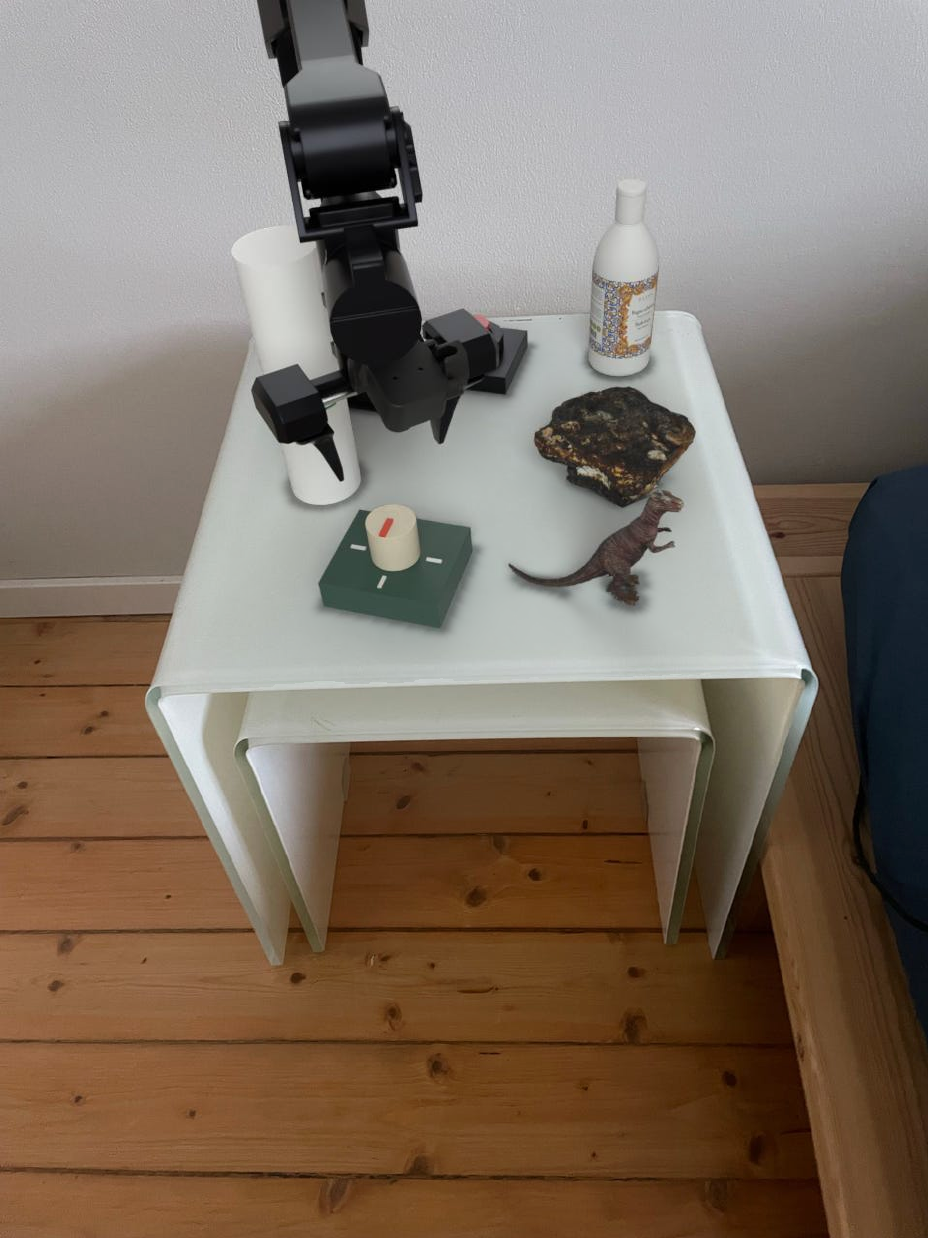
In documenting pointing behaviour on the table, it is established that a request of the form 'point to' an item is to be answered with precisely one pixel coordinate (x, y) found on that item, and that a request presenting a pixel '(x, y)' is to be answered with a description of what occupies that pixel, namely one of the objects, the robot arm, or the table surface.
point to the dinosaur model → (621, 551)
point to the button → (483, 321)
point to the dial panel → (398, 575)
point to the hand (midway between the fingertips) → (390, 459)
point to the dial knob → (393, 537)
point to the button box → (504, 359)
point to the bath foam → (624, 287)
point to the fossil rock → (615, 442)
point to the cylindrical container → (296, 346)
